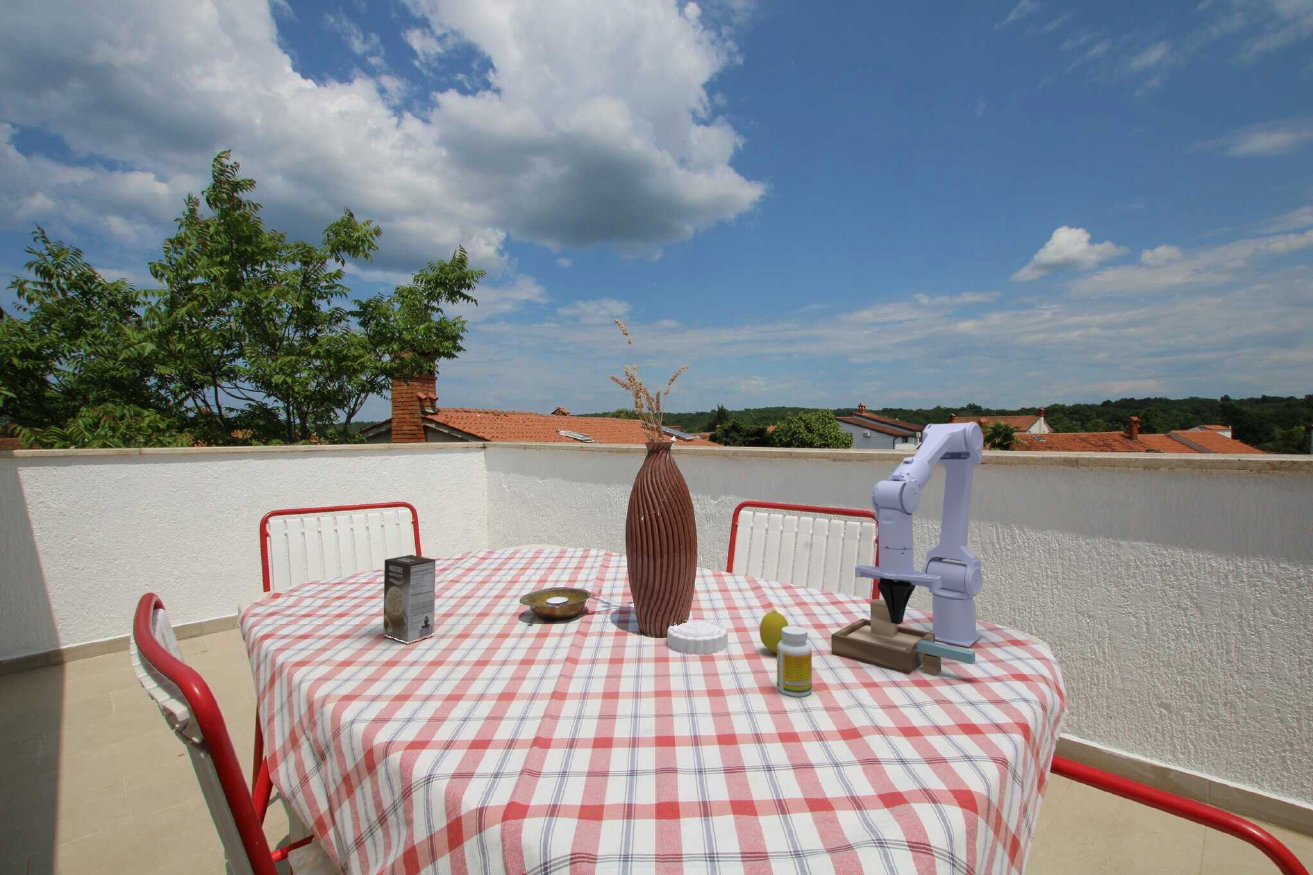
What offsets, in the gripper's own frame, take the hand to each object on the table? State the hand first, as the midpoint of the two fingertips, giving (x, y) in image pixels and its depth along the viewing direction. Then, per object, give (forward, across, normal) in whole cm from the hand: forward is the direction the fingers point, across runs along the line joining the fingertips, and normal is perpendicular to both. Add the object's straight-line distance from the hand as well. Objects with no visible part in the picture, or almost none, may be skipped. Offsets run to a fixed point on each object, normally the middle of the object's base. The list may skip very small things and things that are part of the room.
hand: (897, 622), depth 98 cm
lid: (+5, -4, +3) cm, 7 cm away
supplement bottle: (+7, -8, -23) cm, 25 cm away
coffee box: (+7, -79, -55) cm, 96 cm away
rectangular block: (+4, +8, 0) cm, 9 cm away
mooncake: (+8, -33, -17) cm, 38 cm away
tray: (+7, -2, +3) cm, 8 cm away
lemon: (+7, -19, -11) cm, 23 cm away
